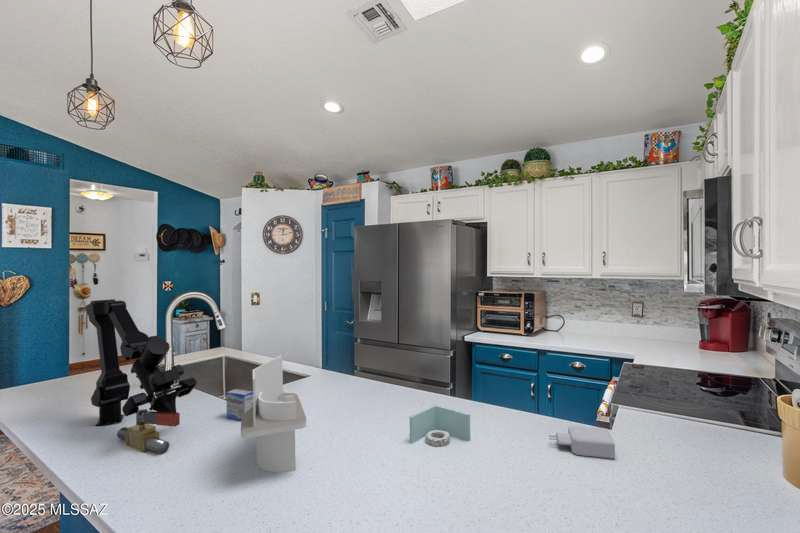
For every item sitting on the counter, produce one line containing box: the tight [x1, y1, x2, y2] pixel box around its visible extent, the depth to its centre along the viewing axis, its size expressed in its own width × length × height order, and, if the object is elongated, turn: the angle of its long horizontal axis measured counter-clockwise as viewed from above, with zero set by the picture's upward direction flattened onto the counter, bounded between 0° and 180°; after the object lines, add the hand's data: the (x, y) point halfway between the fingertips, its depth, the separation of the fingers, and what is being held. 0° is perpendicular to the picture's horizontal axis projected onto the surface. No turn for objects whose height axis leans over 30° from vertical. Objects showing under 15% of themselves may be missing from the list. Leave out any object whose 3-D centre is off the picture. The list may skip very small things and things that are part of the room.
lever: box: [135, 408, 181, 428], centre depth 109 cm, size 3×13×4 cm, turn 78°
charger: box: [548, 425, 616, 460], centre depth 104 cm, size 5×9×15 cm
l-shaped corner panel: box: [409, 404, 471, 448], centre depth 110 cm, size 12×12×8 cm
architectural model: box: [240, 354, 307, 473], centre depth 103 cm, size 28×21×23 cm
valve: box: [116, 424, 170, 455], centre depth 110 cm, size 20×4×6 cm, turn 61°
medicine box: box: [226, 388, 253, 422], centre depth 129 cm, size 8×4×9 cm, turn 68°
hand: (176, 419), depth 110 cm, fingers closed
